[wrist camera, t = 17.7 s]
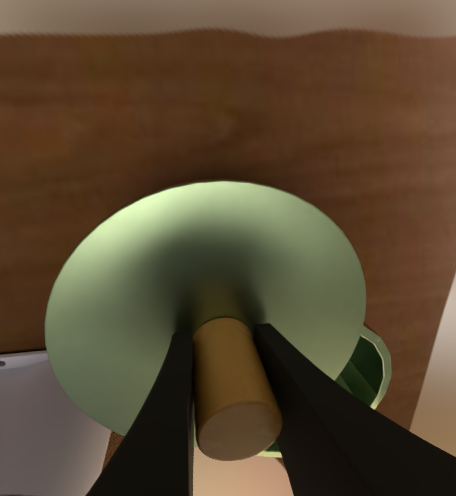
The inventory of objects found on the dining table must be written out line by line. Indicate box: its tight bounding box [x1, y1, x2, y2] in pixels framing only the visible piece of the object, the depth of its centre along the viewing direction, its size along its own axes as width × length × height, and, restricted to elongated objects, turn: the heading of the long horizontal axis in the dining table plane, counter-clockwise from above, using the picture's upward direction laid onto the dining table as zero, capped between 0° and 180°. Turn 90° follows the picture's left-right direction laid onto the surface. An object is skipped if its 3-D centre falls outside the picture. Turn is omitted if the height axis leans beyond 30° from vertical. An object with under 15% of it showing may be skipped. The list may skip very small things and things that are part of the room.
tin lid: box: [44, 178, 366, 461], centre depth 9 cm, size 12×12×5 cm
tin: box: [257, 322, 392, 457], centre depth 19 cm, size 12×12×6 cm
